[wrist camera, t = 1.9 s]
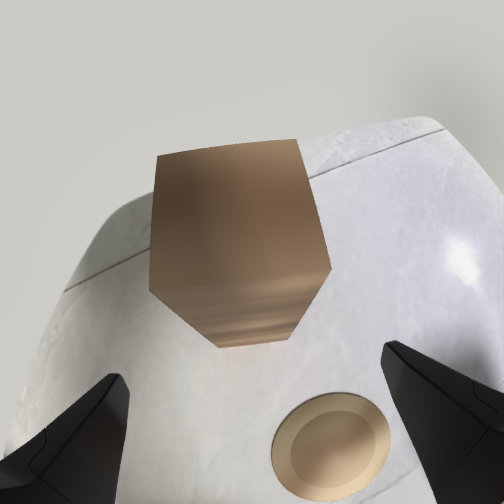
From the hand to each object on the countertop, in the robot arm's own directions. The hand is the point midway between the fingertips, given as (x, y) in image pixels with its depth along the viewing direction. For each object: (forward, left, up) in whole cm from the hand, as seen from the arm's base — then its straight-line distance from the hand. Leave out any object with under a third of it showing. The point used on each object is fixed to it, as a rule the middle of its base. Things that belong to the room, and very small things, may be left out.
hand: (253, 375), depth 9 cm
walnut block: (+3, -4, -12) cm, 13 cm away
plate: (-8, +2, -12) cm, 14 cm away
